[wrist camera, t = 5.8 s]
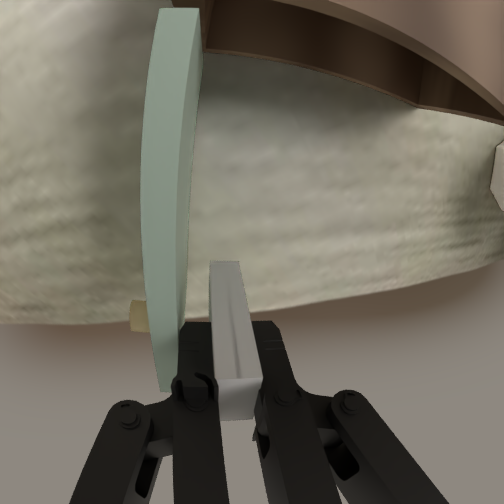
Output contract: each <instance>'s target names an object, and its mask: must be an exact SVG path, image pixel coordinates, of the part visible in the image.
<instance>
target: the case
mask: <svg viewBox="0 0 504 504" xmlns="http://www.w3.org/2000/svg"><path fill="white" fill-rule="evenodd" d="M171 1H172V4H173V7H174V8H199V14H200V27H201V39H202V51H203V52H209V53H221V54H230V55H238V56H246V57H252V58H259V59H265V60H270V61H276V62H281V63H286V64H290V65H295V66H299V67H303V68H307V69H311V70H315V71H319V72H323V73H326V74H330V75H333V76H336V77H340V78H343V79H346V80H349V81H352V82H355V83H358V84H361V85H364V86H367V87H369V88H372V89H375V90H377V91H380V92H382V93H385V94H387V95H390V96H392V97H395V98H397V99H399V100H402V101H404V102H406V103H409V104H411V105H413V106H415V107H417V108H420V109H427V110H433V111H440V112H445V113H451V114H456V115H461V116H466V117H470V118H475V119H479V120H483V121H487V122H491V123H495V124H498V125H502V126H504V0H171Z"/></svg>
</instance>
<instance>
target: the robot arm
mask: <svg viewBox="0 0 504 504" xmlns="http://www.w3.org/2000/svg"><path fill="white" fill-rule="evenodd" d="M171 391H172V395H171V396H170V397H169V398H167V399H166V400H164V401H161V402H158V403H154V404H149V405H145V406H144V405H143V404H141V403H139V402H137V401H133V400H124V401H120V402H118V403H116V404H115V405H113V406H112V408H111V409H110V410H109V412H108V414H107V416H106V419H105V420H104V423H103V425H102V427H101V429H100V431H99V433H98V436H97V438H96V440H95V442H94V445H93V447H92V449H91V452H90V454H89V456H88V459H87V461H86V463H85V465H84V468H83V470H82V473H81V475H80V478H79V480H78V482H77V485H76V487H75V490H74V492H73V495H72V498H71V500H70V503H69V504H149V501H150V498H151V494H152V491H153V487H154V484H155V481H156V478H157V474H158V471H159V468H160V464H161V461H162V458H163V457H164V456H169V455H173V489H174V504H229V498H228V490H227V481H226V473H225V465H224V456H223V446H222V436H221V426H220V421H230V420H247V419H253V416H255V421H256V427H255V430H254V434H253V440H252V441H256V442H257V447H258V453H259V458H260V463H261V468H262V473H263V478H264V483H265V487H266V493H267V498H268V502H269V504H342V502H341V499H340V496H339V493H338V490H337V487H338V488H339V490H340V491H341V493H342V494H343V496H344V497H345V498H346V500H347V501H348V503H349V504H449V503H448V502H447V500H446V499H445V498H444V497H443V495H442V494H441V493H440V492H439V490H438V489H437V488H436V487H435V485H434V484H433V483H432V481H431V480H430V479H429V478H428V476H427V475H426V474H425V473H424V471H423V470H422V469H421V467H420V466H419V465H418V464H417V463H416V461H415V460H414V459H413V458H412V456H411V455H410V454H409V452H408V451H407V450H406V449H405V447H404V446H403V445H402V443H401V442H400V441H399V440H398V438H397V437H396V436H395V435H394V433H393V432H392V431H391V430H390V428H389V427H388V426H387V424H386V423H385V422H384V421H383V419H382V418H381V417H380V416H379V414H378V413H377V412H376V411H375V409H374V408H373V407H372V405H371V404H370V403H369V402H368V400H367V399H366V398H365V397H364V396H363V395H362V394H361V393H359V392H356V391H354V390H343V391H339V392H338V393H337V394H335V395H334V397H328V396H320V395H314V394H311V393H308V392H306V391H304V390H303V389H302V388H301V387H300V386H299V385H298V384H297V383H296V380H295V378H294V375H293V372H292V368H291V366H290V362H289V359H288V356H287V352H286V350H285V346H284V343H283V341H282V337H281V333H280V330H279V328H278V327H277V326H276V325H275V324H274V323H273V322H272V321H251V318H250V314H249V309H248V304H247V299H246V294H245V289H244V284H243V280H242V275H241V270H240V265H239V261H210V274H209V322H185V323H184V325H183V326H182V328H181V329H180V332H179V347H178V365H177V375H176V376H175V377H174V378H173V380H172V383H171ZM336 485H337V487H336Z"/></svg>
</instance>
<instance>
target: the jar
mask: <svg viewBox="0 0 504 504" xmlns="http://www.w3.org/2000/svg"><path fill="white" fill-rule="evenodd" d="M490 190H491V192H492V193H493V195H494V197H495V199H496V201H497V203H498V205H499V207H500V209H501V210H502V211H504V141H503V142H502V143H501V144H499V145H498V146H497V147H496V153H495V161H494V167H493V173H492V179H491V184H490Z"/></svg>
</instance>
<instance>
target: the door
mask: <svg viewBox="0 0 504 504" xmlns="http://www.w3.org/2000/svg"><path fill="white" fill-rule="evenodd" d="M203 64H204V62H203V51H202V39H201V27H200V14H199V8H160V9H159V14H158V18H157V23H156V28H155V33H154V39H153V44H152V50H151V57H150V63H149V70H148V78H147V86H146V94H145V104H144V115H143V128H142V145H141V174H140V212H141V241H142V259H143V272H144V284H145V294H146V301H140V300H132V302H131V305H130V313H129V321H130V328H131V330H132V331H135V332H148V333H150V335H151V342H152V347H153V354H154V360H155V366H156V371H157V376H158V382H159V387H160V391H161V392H172V391H171V383H172V380H173V378H174V377H175V376H176V375H177V365H178V347H179V332H180V329H181V328H182V326H183V325H184V320H185V303H186V289H187V253H188V224H189V203H190V187H191V173H192V160H193V148H194V137H195V127H196V118H197V109H198V101H199V93H200V85H201V78H202V71H203Z"/></svg>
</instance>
